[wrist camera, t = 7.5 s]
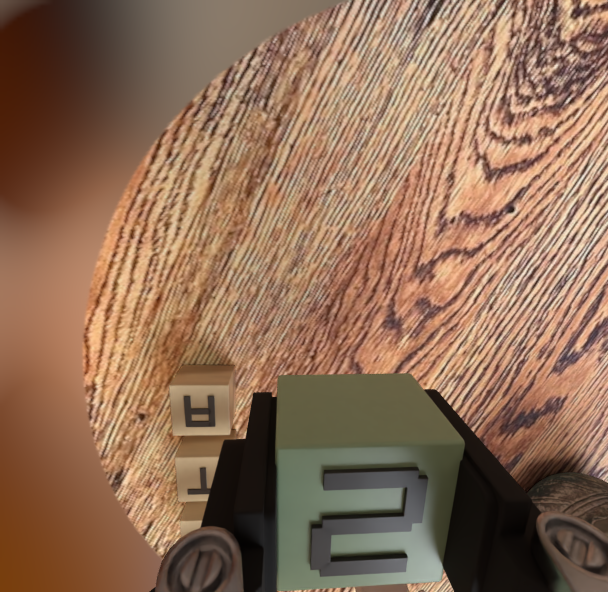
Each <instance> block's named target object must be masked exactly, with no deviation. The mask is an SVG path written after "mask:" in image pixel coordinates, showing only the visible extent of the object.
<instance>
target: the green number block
mask: <svg viewBox="0 0 608 592" xmlns="http://www.w3.org/2000/svg"><path fill="white" fill-rule="evenodd" d="M464 447H465V442H464V440H463V438H462V437H461V436H460V435H459V433H458V432H457V431H456V430H455V428H454V427H453V426H452V425H451V423H450V422H449V421H448V420H447V418H446V417H445V416H444V415H443V413H442V412H441V411H440V410H439V408H438V407H437V406H436V405H435V403H434V402H433V401H432V400H431V398H430V397H429V396H428V395H427V393H426V392H425V391H424V390H423V388H422V387H421V386H420V385H419V383H418V382H417V381H416V380H415V378H414V377H413V376H412V375H411V374H409V373H404V374H334V375H280V376H279V377H278V384H277V412H276V440H275V464H276V468H277V590H278V591H292V590H308V589H325V588H342V587H359V586H376V585H393V584H410V583H427V582H439V581H441V580H442V575H443V569H444V568H443V560H444V554H445V548H446V542H447V536H448V530H449V524H450V518H451V512H452V507H453V501H454V495H455V489H456V483H457V477H458V471H459V465H460V461H461V460H462V458H463V453H464Z"/></svg>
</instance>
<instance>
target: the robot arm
mask: <svg viewBox="0 0 608 592" xmlns="http://www.w3.org/2000/svg"><path fill="white" fill-rule="evenodd" d="M424 391H425V392H426V393H427V395H428V396H429V397H430V398H431V400H432V401H433V402H434V403H435V405H436V406H437V407H438V408H439V410H440V411H441V412H442V413H443V415H444V416H445V417H446V418H447V420H448V421H449V422H450V423H451V425H452V426H453V427H454V428H455V430H456V431H457V432H458V433H459V435H460V436H461V437H462V438H463V440H464V442H465V447H464V453H463V458H462V460H461V461H460V465H459V471H458V477H457V483H456V489H455V495H454V501H453V507H452V512H451V518H450V524H449V530H448V536H447V542H446V548H445V554H444V560H443V568H444V570H445V572H446V574H447V577H448V579H449V581H450V583H451V586H452V588H453V590H454V592H608V536H607V535H606V534H604V533H603V532H602V531H601V530H599V529H598V528H597V527H595V526H593V525H591V524H590V523H588V522H586V521H585V520H583V519H580V518H578V517H576V516H573V515H571V514H567V513H563V512H559V511H546V512H544V513H541V511H540V510H539V509H538V508H537V507H536V506H535V504H534V503H533V502H532V501H533V500H532V499H531V498H530V497H529V496H528V495H527V493H526V492H525V491H524V490H523V489H522V488H521V487H520V485H519V484H518V483H517V482H516V481H515V480H514V479H513V477H512V476H511V475H510V474H509V473H508V472H507V471H506V469H505V468H504V467H503V466H502V465H501V464H500V462H499V461H498V460H497V459H496V458H495V457H494V456H493V454H492V453H491V452H490V451H489V450H488V449H487V448H486V446H485V445H484V444H483V443H482V442H481V441H480V439H479V438H478V437H477V436H476V435H475V434H474V433H473V431H472V430H471V429H470V428H469V427H468V426H467V425H466V423H465V422H464V421H463V420H462V419H461V418H460V416H459V415H458V414H457V413H456V412H455V411H454V410H453V408H452V407H451V406H450V405H449V404H448V403H447V402H446V400H445V399H444V398H443V397H442V396H441V395H440V393H439V392H438V391H437V390H435V389H425V390H424ZM276 412H277V397H272V392H257V393H253V398H252V404H251V410H250V416H249V422H248V428H247V434H246V439H227V440H224V441H223V444H222V448H221V452H220V455H219V459H218V463H217V467H216V470H215V474H214V478H213V482H212V486H211V489H210V493H209V497H208V501H207V504H206V508H205V512H204V516H203V519H202V523H201V527H200V528H199V529H196V530H193V531H191V532H189V533H187V534H186V535H184V536H183V537H181V538H180V539H179V540H178V541H177V542H176V543H175V544H174V545H173V546H172V547H171V548H170V549H169V551H168V552H167V554H166V555H165V557H164V559H163V560H162V563H161V566H160V569H159V572H158V576H157V582H156V587H155V588H154V589H152V590H151V591H150V592H277V468H276V464H275V440H276Z"/></svg>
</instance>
